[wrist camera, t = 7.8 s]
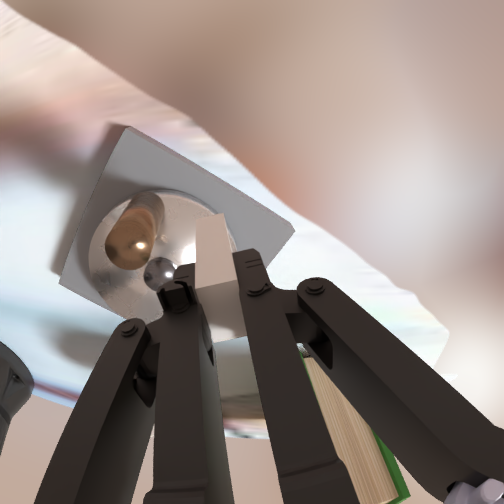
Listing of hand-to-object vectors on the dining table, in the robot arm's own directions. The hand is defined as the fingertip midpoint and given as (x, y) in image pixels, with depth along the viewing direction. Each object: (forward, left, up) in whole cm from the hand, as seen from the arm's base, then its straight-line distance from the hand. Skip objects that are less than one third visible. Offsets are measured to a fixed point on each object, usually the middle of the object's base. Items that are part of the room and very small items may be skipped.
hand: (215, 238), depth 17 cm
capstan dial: (0, -9, -10) cm, 13 cm away
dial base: (0, -9, -13) cm, 15 cm away
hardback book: (+29, -20, -13) cm, 37 cm away
